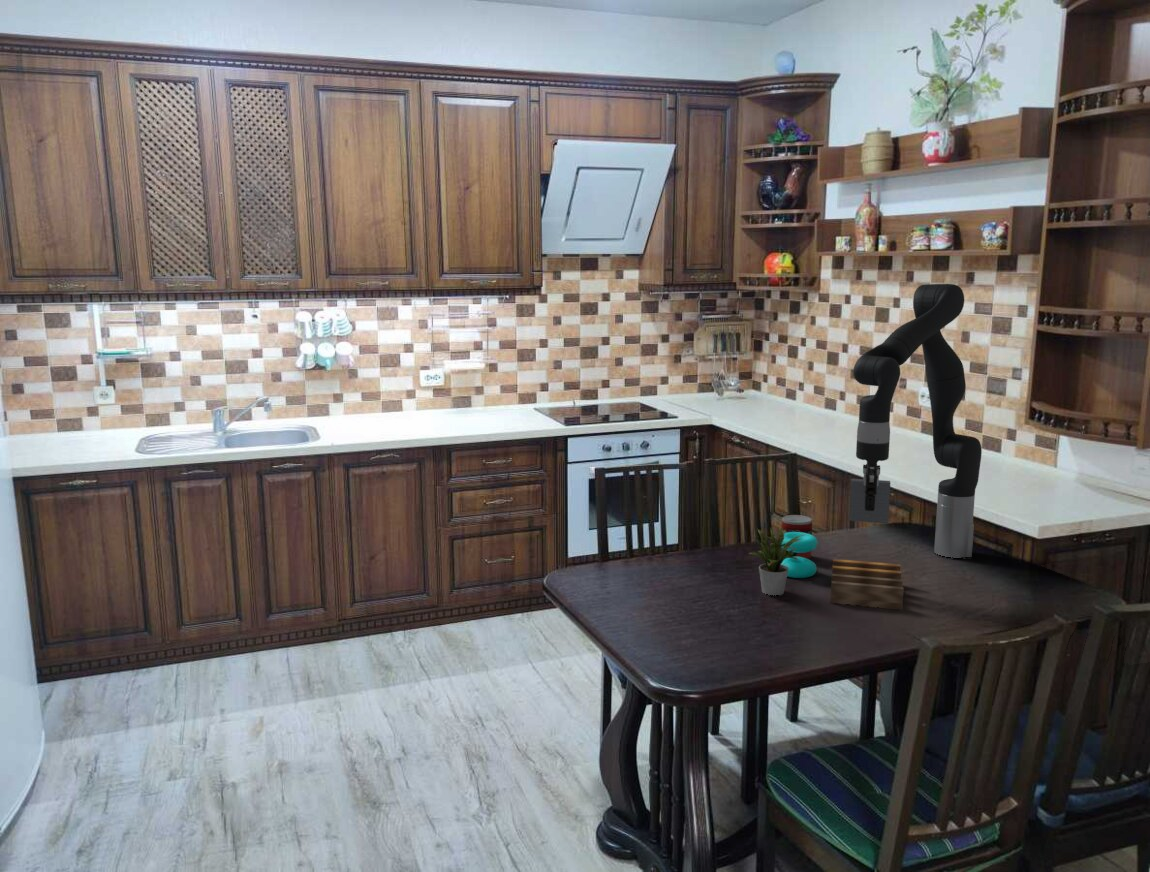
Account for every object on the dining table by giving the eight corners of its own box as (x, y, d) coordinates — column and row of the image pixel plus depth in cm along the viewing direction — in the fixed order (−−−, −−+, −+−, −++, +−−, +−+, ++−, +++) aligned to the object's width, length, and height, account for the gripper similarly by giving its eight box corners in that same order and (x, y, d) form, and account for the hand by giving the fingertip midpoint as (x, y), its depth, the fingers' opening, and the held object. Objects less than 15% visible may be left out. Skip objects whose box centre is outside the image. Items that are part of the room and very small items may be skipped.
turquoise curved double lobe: (780, 541, 230) (775, 530, 239) (779, 579, 231) (774, 566, 241) (820, 542, 229) (814, 530, 238) (819, 580, 230) (813, 567, 240)
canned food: (775, 554, 251) (776, 516, 249) (801, 551, 253) (802, 513, 251) (790, 563, 244) (791, 523, 242) (816, 560, 246) (817, 520, 244)
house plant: (805, 606, 213) (808, 539, 210) (745, 602, 216) (747, 536, 212) (803, 585, 227) (805, 522, 223) (746, 582, 229) (748, 519, 226)
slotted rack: (899, 584, 226) (900, 564, 226) (902, 609, 210) (903, 588, 209) (832, 578, 231) (833, 559, 230) (830, 603, 215) (831, 581, 214)
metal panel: (887, 520, 222) (890, 480, 221) (888, 523, 220) (890, 483, 218) (849, 518, 225) (851, 478, 223) (849, 520, 223) (851, 480, 221)
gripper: (890, 445, 211) (886, 517, 214) (888, 434, 224) (884, 502, 227) (856, 443, 213) (853, 515, 217) (856, 433, 226) (853, 500, 230)
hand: (869, 508), depth 222 cm, fingers closed on metal panel, 2 cm apart
